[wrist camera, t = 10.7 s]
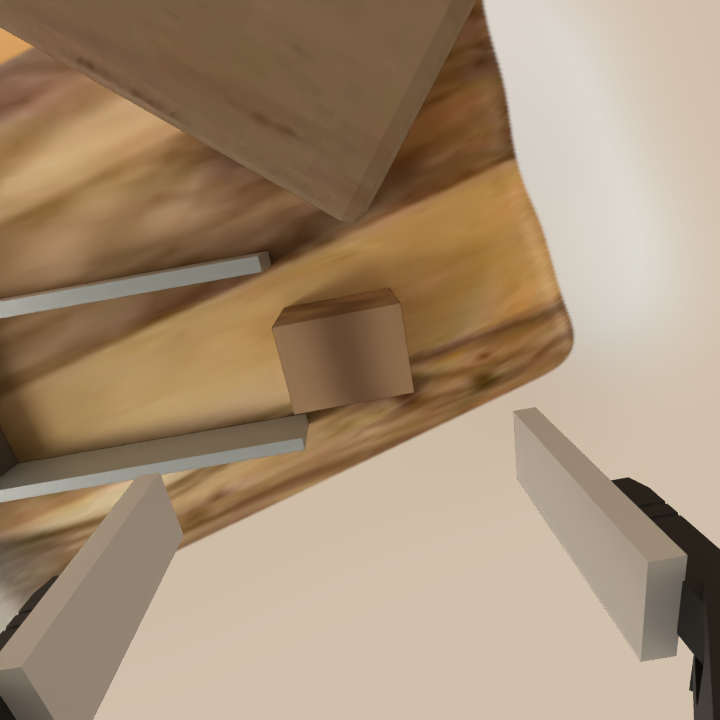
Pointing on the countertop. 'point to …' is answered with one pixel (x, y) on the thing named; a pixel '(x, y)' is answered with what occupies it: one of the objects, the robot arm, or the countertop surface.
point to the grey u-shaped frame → (166, 455)
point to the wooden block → (265, 77)
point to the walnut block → (343, 351)
